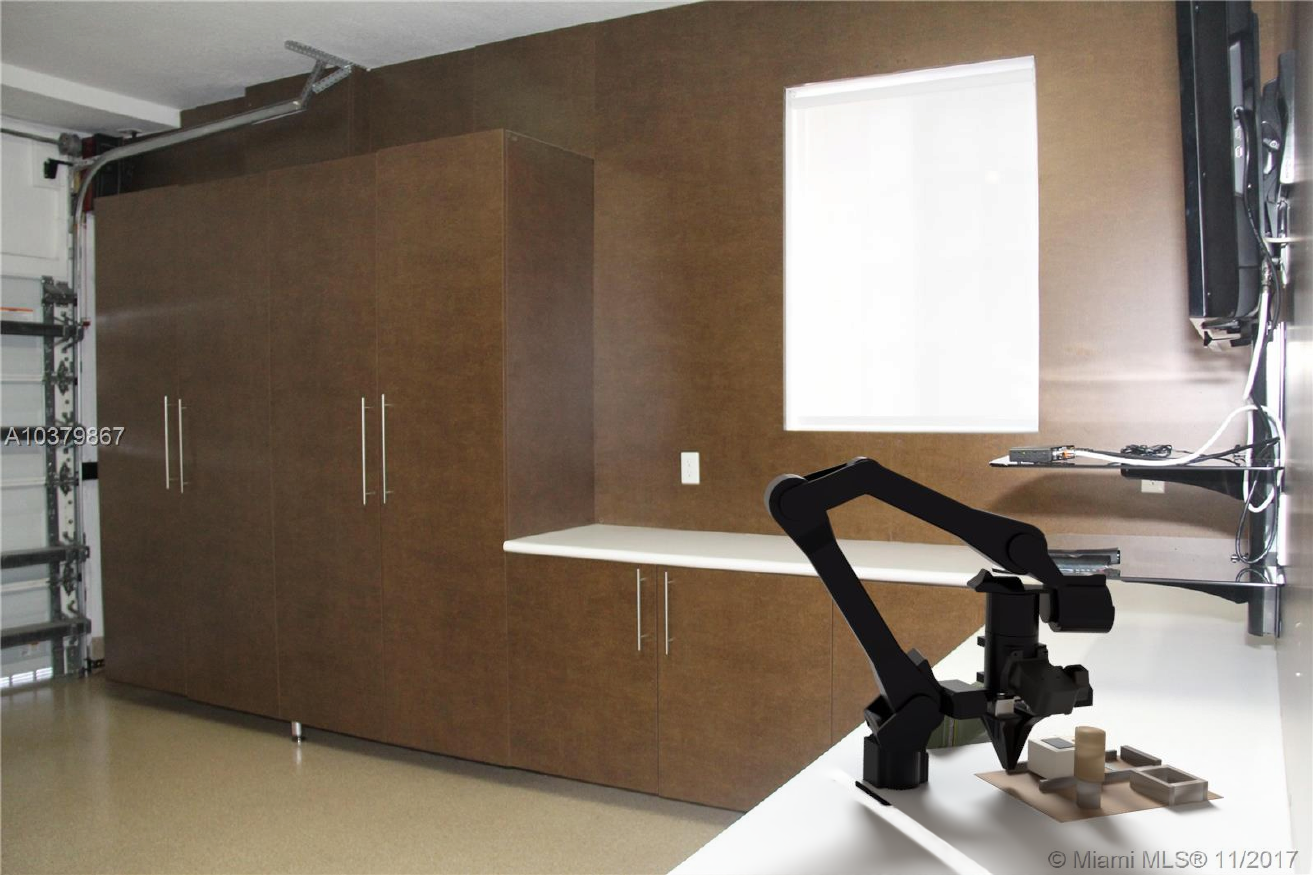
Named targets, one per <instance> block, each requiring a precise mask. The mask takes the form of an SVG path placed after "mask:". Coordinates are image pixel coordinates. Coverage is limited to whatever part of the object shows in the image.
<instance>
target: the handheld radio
mask: <svg viewBox="0 0 1313 875" xmlns="http://www.w3.org/2000/svg"><path fill="white" fill-rule="evenodd" d="M969 684H970V683H969ZM970 685H972V686H975V687H984V684H983V683H981V682H978V681H976V680H975V681H974V682H972V683H971V684H970ZM998 695H1001V694H1000V693H998ZM985 732H987V731H986V729H985V727H984V725H983V723H982V722H981V720H980V718H975V719H966V720H958V719H953V718H951V717H948V716H946V715H945V717H944V720H943V722H942V723H941V725H940V726H939V727H938V728H937V729H935V730H934V731H932V734H931V736H930V739H929V741H928V744H927V746H926V751H928V750H936V749H937V750H938V749H939V750H940V749H947V748H954V747H956V748H957V747H963V746H964V745H965V744H967V743H969V742H971V741H972V740H973V739H975V738H977V737H979V736H980V735H982V734H984V733H985Z"/></svg>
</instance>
